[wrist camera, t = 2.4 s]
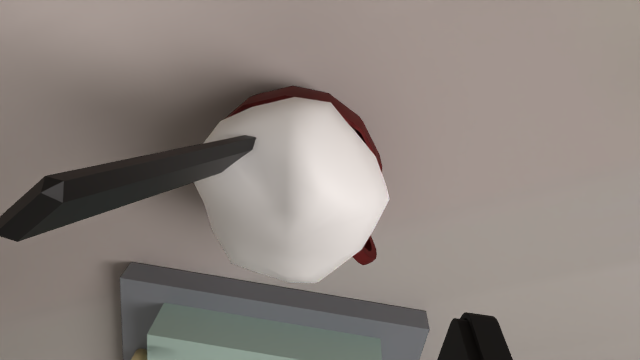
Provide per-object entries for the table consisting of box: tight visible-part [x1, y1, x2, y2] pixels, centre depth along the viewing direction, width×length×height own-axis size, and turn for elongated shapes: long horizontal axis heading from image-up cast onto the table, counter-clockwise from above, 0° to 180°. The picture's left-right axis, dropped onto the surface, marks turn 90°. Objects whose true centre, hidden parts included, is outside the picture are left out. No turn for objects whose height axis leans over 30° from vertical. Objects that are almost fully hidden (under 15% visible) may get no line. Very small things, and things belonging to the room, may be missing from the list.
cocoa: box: [0, 86, 389, 283], centre depth 14 cm, size 10×6×12 cm, turn 17°
